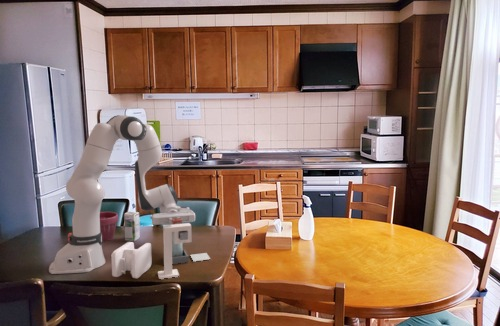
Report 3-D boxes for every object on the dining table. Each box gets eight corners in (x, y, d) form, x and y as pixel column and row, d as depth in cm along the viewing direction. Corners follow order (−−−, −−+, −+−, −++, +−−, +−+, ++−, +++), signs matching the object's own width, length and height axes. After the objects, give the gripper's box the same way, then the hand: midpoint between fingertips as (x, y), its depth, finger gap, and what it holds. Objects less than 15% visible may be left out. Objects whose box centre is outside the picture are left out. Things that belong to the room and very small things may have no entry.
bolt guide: (159, 279, 151) (158, 229, 148) (157, 273, 157) (156, 225, 154) (192, 275, 156) (191, 226, 153) (189, 269, 161) (189, 222, 158)
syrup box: (124, 240, 197) (123, 213, 195) (130, 236, 202) (129, 210, 200) (134, 241, 195) (133, 214, 193) (140, 237, 201) (139, 211, 199)
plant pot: (109, 243, 191) (108, 219, 190) (84, 242, 194) (83, 218, 192) (123, 234, 205) (122, 212, 204) (99, 233, 208) (98, 211, 206)
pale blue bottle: (172, 262, 168) (171, 233, 166) (170, 258, 173) (170, 230, 171) (183, 261, 170) (183, 232, 168) (181, 257, 174) (181, 229, 173)
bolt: (179, 242, 150) (179, 232, 149) (171, 227, 170) (171, 218, 169) (189, 241, 151) (189, 231, 151) (180, 226, 171) (180, 217, 170)
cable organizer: (134, 282, 149) (133, 254, 147) (110, 279, 151) (109, 252, 149) (152, 267, 163) (151, 241, 162) (130, 265, 165) (129, 239, 164)
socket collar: (168, 265, 166) (168, 258, 165) (165, 257, 174) (165, 251, 174) (188, 262, 169) (188, 256, 168) (185, 255, 177) (185, 249, 177)
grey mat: (193, 262, 169) (193, 261, 169) (190, 256, 176) (190, 254, 176) (210, 260, 171) (210, 258, 171) (206, 254, 179) (206, 252, 179)
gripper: (149, 210, 179) (152, 217, 166) (191, 206, 186) (197, 214, 173) (149, 222, 180) (152, 231, 167) (192, 219, 187) (197, 227, 174)
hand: (176, 222), depth 170 cm, fingers closed, pressing on bolt
